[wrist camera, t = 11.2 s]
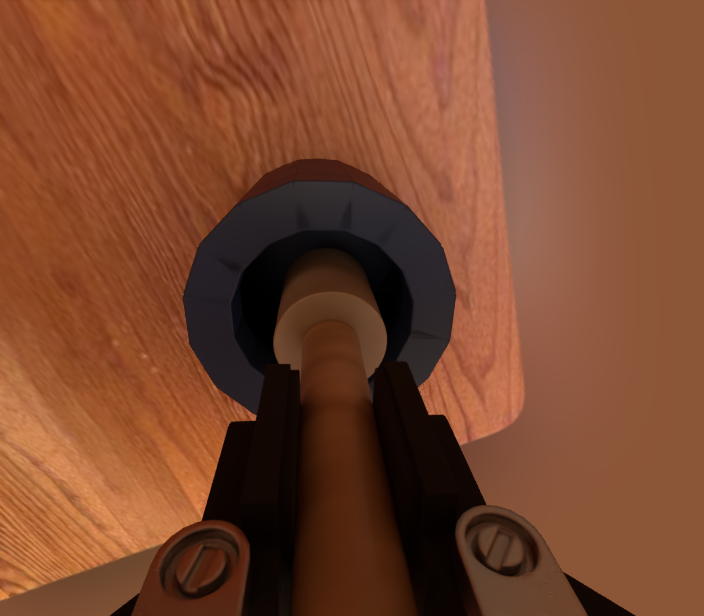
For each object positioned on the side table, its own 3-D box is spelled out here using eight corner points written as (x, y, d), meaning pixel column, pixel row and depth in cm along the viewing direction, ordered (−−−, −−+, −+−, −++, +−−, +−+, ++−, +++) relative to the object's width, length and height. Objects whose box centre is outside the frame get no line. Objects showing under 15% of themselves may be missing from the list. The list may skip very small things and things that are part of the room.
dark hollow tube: (240, 323, 26) (201, 432, 16) (225, 156, 22) (164, 178, 13) (395, 320, 26) (439, 422, 17) (406, 160, 23) (472, 183, 14)
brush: (285, 327, 18) (220, 792, 6) (281, 247, 17) (185, 622, 4) (366, 326, 19) (484, 763, 6) (370, 247, 17) (536, 596, 4)
